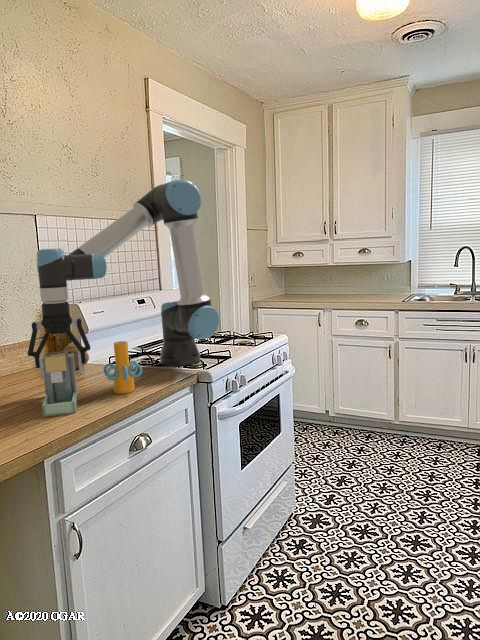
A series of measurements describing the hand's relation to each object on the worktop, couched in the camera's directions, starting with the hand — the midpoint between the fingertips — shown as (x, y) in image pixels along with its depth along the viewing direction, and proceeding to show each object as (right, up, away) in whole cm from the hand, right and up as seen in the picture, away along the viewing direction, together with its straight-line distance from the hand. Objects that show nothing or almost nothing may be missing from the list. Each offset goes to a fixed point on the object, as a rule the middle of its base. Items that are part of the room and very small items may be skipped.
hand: (62, 376), depth 147 cm
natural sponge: (-8, -2, +37) cm, 38 cm away
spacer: (+4, +3, -15) cm, 16 cm away
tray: (+4, -7, -13) cm, 16 cm away
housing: (+3, -7, -7) cm, 10 cm away
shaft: (+2, 0, -7) cm, 7 cm away
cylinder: (+18, -5, +2) cm, 19 cm away
